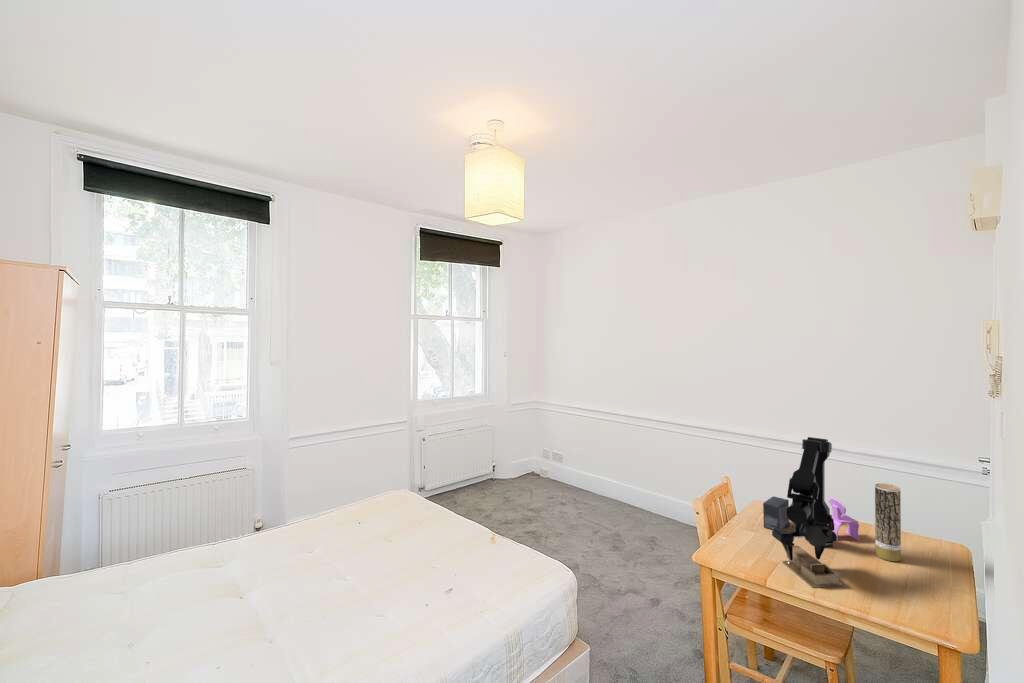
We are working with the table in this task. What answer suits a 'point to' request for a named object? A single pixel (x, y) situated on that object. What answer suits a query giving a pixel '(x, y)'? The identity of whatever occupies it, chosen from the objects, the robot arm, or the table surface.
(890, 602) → the table surface
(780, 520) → the small box
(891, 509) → the log-patterned cylinder
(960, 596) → the table surface
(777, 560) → the table surface
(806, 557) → the walnut rail
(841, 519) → the toy chair
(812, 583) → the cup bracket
